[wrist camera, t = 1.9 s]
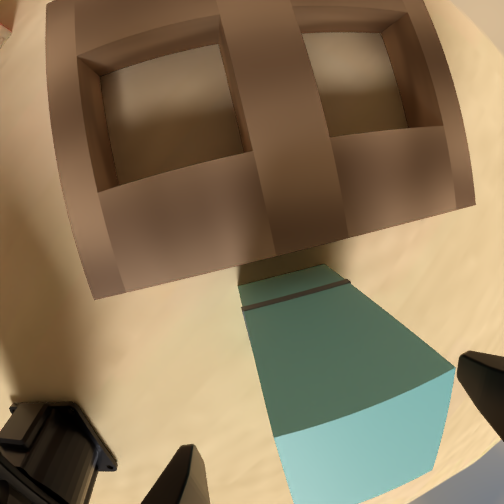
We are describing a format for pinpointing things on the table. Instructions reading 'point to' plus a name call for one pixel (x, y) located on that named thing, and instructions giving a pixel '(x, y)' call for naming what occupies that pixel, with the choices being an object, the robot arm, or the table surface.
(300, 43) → the walnut board
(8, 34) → the stack of blocks
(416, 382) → the teal peg
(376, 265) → the table surface
